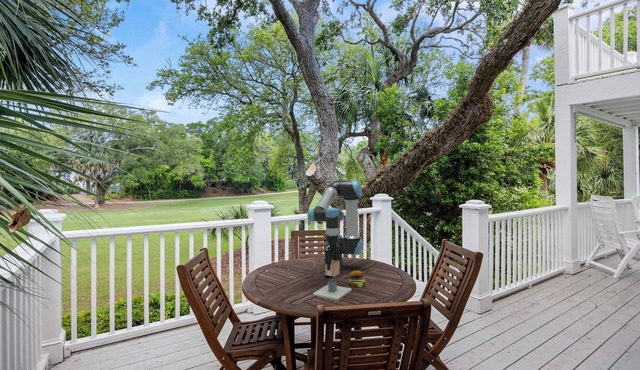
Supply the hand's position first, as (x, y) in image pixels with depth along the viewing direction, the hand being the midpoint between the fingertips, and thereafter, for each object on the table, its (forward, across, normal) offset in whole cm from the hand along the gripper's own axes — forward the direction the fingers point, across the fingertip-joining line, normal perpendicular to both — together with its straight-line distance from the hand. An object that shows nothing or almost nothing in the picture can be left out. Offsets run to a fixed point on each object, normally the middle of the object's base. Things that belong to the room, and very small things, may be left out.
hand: (332, 273), depth 200 cm
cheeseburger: (+11, -20, +6) cm, 24 cm away
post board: (+11, 0, 0) cm, 11 cm away
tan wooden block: (0, 0, 0) cm, 0 cm away
